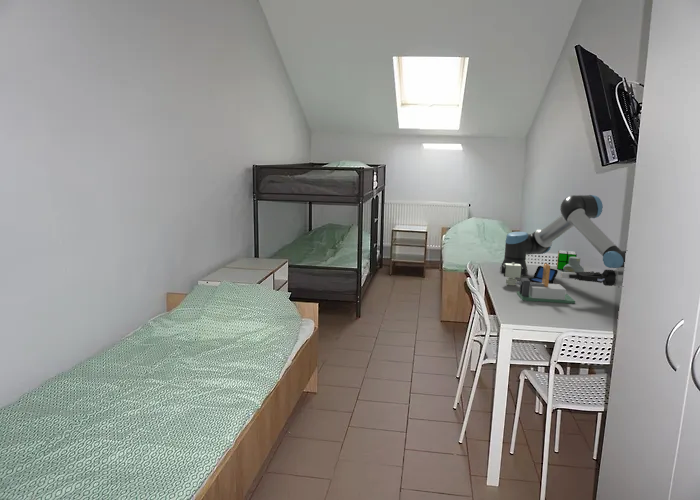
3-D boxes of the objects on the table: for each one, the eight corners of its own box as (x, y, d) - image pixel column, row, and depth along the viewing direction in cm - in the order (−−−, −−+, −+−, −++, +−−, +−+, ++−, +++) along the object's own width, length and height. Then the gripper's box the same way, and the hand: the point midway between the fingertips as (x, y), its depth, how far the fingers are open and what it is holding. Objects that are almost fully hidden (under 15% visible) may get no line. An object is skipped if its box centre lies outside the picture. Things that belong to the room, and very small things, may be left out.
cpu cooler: (567, 296, 265) (569, 278, 263) (575, 303, 253) (577, 284, 251) (516, 293, 266) (518, 276, 265) (522, 300, 255) (524, 282, 253)
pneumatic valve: (523, 286, 281) (525, 264, 278) (500, 285, 282) (502, 262, 280) (521, 284, 286) (524, 261, 284) (499, 282, 288) (501, 260, 286)
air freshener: (585, 275, 312) (587, 258, 310) (577, 277, 307) (579, 260, 305) (568, 271, 320) (570, 255, 319) (560, 273, 316) (562, 256, 314)
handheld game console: (524, 280, 295) (526, 267, 294) (537, 278, 301) (538, 265, 300) (544, 286, 285) (546, 272, 284) (557, 283, 291) (558, 270, 290)
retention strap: (545, 284, 261) (547, 263, 259) (548, 286, 256) (550, 265, 254) (515, 282, 262) (517, 262, 260) (517, 285, 257) (519, 264, 255)
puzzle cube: (574, 267, 333) (575, 251, 331) (574, 271, 323) (576, 254, 321) (556, 266, 336) (558, 250, 334) (557, 269, 327) (558, 253, 325)
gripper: (617, 289, 248) (564, 286, 250) (607, 282, 261) (556, 279, 263) (619, 273, 247) (566, 270, 249) (609, 267, 260) (558, 264, 262)
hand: (561, 275), depth 256 cm, fingers closed
